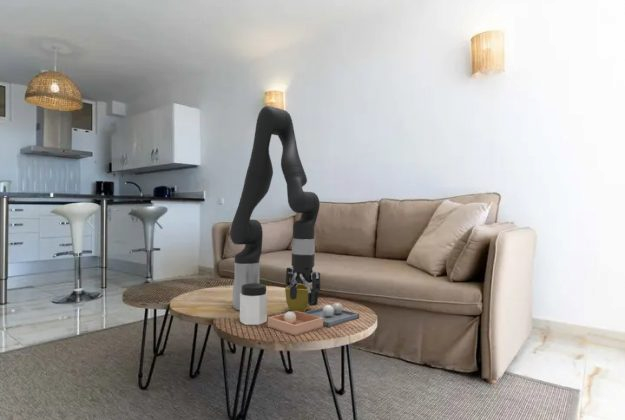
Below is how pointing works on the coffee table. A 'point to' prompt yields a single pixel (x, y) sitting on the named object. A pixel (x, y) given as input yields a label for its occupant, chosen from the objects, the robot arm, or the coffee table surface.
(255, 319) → the jar
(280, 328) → the dish
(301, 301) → the flower pot
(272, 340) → the coffee table surface
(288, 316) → the white ball
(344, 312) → the tray
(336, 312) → the pebble
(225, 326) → the coffee table surface
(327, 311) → the pebble
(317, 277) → the robot arm
